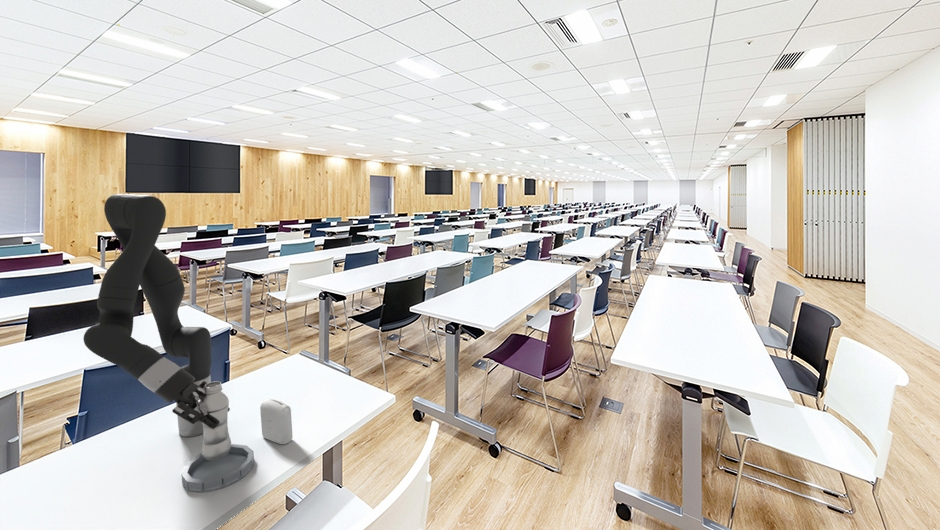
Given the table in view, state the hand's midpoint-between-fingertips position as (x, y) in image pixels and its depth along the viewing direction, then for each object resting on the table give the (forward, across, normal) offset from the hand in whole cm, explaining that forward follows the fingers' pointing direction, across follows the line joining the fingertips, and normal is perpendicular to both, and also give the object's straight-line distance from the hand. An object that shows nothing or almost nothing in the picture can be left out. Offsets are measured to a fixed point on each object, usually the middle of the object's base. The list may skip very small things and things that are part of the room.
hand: (222, 418), depth 102 cm
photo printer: (+17, +13, +4) cm, 22 cm away
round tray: (+9, 0, +12) cm, 15 cm away
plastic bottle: (+6, 0, +9) cm, 11 cm away
